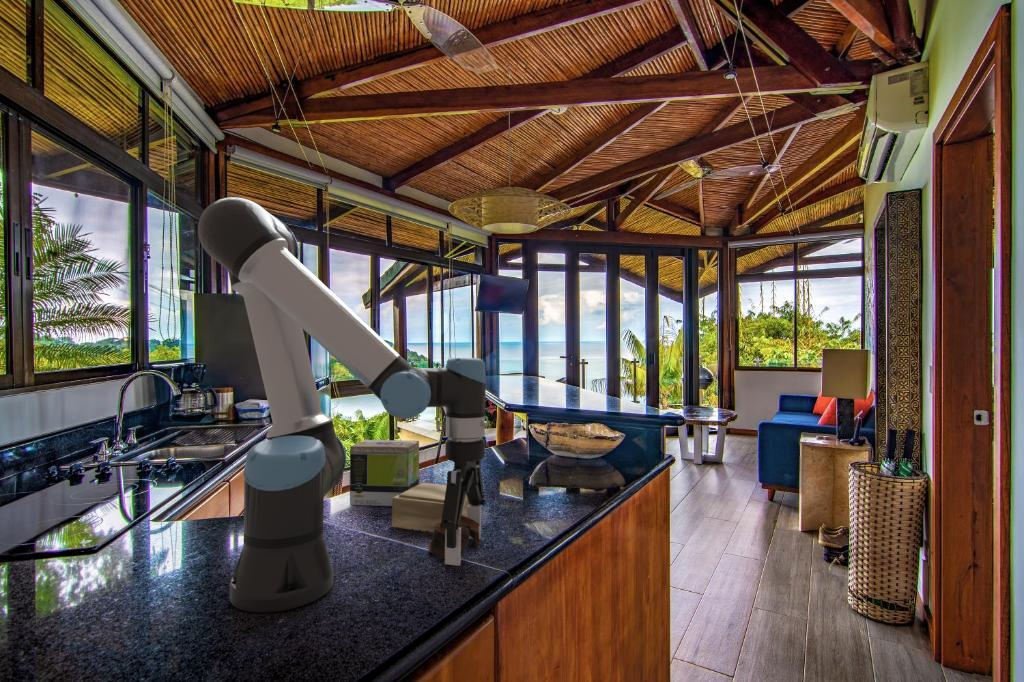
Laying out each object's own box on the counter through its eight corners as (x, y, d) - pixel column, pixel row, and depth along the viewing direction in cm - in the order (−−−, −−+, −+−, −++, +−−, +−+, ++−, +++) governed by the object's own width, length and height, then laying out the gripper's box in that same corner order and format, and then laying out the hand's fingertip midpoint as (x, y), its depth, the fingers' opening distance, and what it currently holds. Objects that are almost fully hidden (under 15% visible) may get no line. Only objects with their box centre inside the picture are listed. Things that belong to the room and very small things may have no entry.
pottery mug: (418, 549, 101) (435, 508, 105) (460, 565, 104) (475, 524, 107) (437, 555, 91) (454, 509, 94) (483, 573, 94) (499, 527, 97)
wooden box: (446, 535, 108) (447, 501, 108) (391, 527, 112) (392, 495, 113) (470, 516, 121) (471, 486, 121) (420, 510, 125) (421, 481, 125)
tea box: (419, 496, 135) (420, 439, 135) (408, 508, 125) (409, 447, 125) (363, 494, 137) (364, 438, 137) (348, 505, 127) (349, 445, 127)
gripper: (464, 451, 87) (462, 580, 87) (499, 429, 111) (498, 530, 111) (422, 449, 88) (420, 575, 88) (465, 427, 112) (464, 527, 112)
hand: (463, 550), depth 99 cm, fingers open, 12 cm apart
